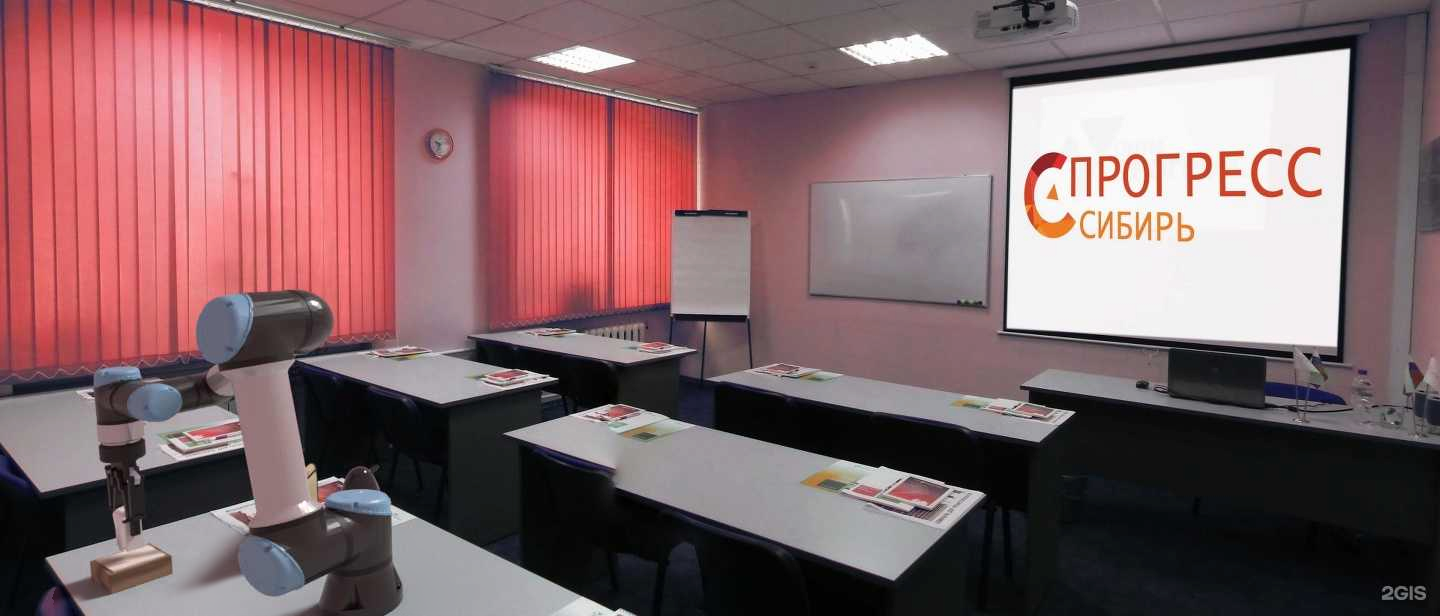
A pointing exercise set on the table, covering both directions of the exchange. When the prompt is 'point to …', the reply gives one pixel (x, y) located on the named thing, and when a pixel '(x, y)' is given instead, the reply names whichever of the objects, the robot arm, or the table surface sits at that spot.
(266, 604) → the table surface
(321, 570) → the robot arm
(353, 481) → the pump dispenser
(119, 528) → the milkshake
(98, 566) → the dock
